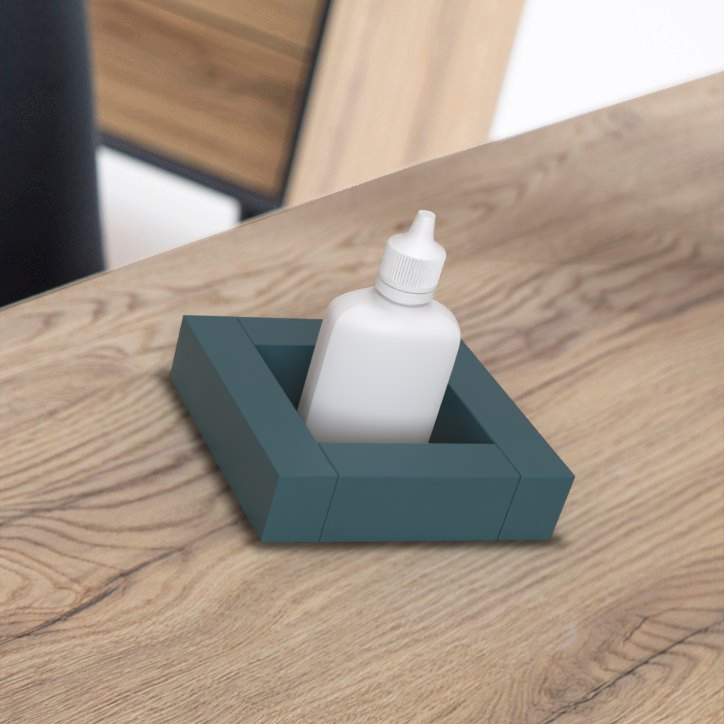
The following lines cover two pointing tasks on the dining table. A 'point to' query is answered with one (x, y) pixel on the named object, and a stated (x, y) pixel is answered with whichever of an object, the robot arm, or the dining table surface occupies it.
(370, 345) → the eye dropper bottle
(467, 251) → the dining table surface
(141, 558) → the dining table surface
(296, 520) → the frame
